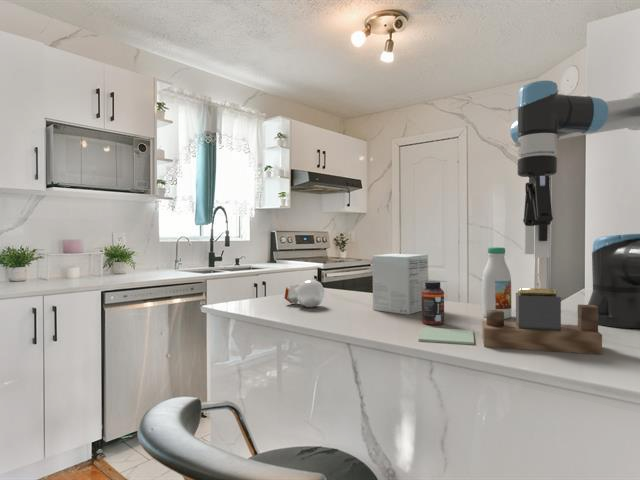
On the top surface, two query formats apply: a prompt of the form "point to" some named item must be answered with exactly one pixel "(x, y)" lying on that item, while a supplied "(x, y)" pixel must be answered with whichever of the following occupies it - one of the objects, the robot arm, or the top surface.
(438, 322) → the supplement bottle
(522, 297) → the lever cap
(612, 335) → the top surface
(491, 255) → the milk bottle
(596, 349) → the plane body
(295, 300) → the potion bottle
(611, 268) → the robot arm
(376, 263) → the supplement box
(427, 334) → the mat
